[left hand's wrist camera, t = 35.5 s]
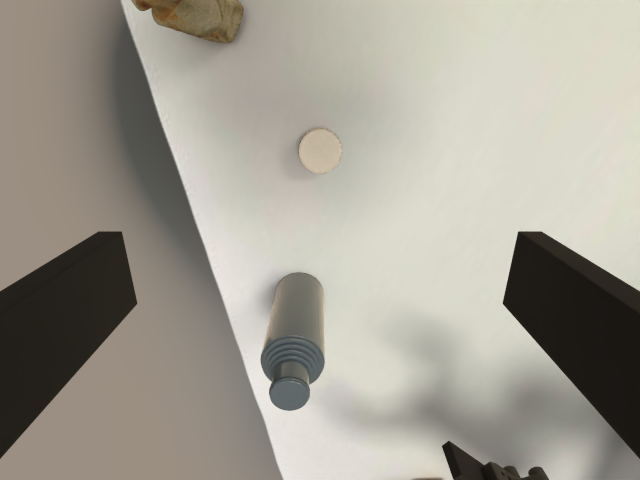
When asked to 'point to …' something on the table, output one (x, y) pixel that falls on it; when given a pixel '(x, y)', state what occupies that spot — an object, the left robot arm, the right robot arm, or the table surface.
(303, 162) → the cap
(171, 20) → the sculpture
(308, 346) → the bottle
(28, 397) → the left robot arm
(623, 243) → the table surface
